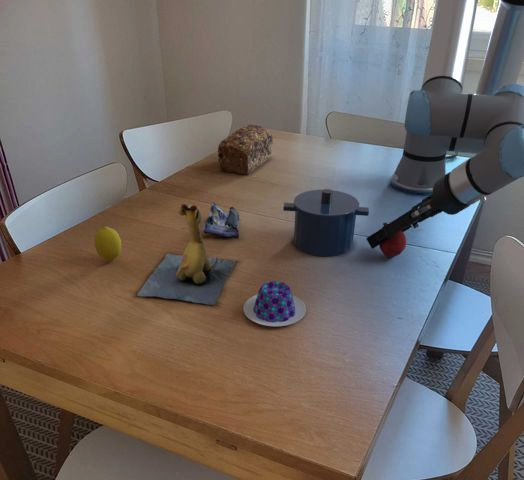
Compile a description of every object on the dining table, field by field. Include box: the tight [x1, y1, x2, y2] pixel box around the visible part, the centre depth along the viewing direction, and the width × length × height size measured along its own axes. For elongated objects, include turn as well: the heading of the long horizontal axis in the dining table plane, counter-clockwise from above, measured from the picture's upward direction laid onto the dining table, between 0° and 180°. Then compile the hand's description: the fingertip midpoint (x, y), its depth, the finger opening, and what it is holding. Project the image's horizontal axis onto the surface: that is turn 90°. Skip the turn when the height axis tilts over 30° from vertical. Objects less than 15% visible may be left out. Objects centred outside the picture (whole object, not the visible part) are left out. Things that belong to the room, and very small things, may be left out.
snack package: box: [202, 202, 241, 240], centre depth 132 cm, size 12×6×12 cm
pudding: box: [242, 280, 307, 327], centre depth 103 cm, size 12×12×5 cm
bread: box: [217, 124, 274, 176], centre depth 167 cm, size 19×11×10 cm, turn 155°
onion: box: [378, 231, 407, 259], centre depth 120 cm, size 6×6×8 cm
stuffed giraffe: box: [136, 203, 238, 306], centre depth 110 cm, size 16×18×16 cm
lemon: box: [94, 226, 122, 262], centre depth 118 cm, size 6×6×8 cm
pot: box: [282, 202, 370, 257], centre depth 125 cm, size 14×19×10 cm
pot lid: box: [293, 188, 360, 218], centre depth 122 cm, size 15×15×4 cm
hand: (379, 238), depth 122 cm, fingers closed on onion, 6 cm apart
